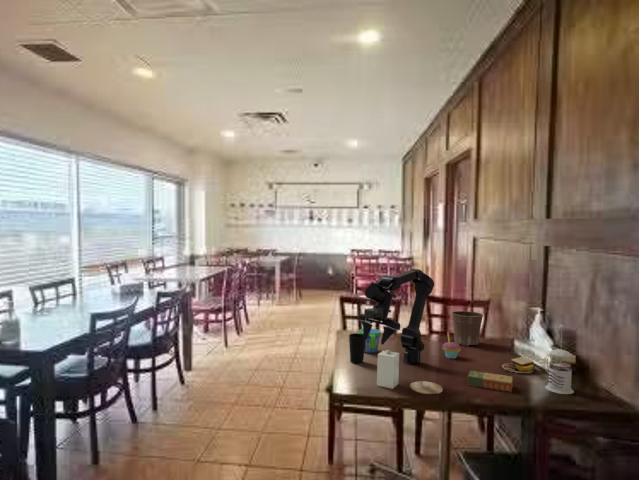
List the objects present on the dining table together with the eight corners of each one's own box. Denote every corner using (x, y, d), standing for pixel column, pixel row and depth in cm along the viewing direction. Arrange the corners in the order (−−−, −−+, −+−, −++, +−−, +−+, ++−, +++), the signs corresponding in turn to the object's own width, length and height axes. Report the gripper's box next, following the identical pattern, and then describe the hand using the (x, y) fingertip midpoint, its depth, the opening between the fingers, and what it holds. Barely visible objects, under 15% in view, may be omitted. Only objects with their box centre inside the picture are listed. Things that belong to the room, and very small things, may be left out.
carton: (511, 393, 168) (511, 382, 168) (466, 386, 175) (467, 375, 175) (512, 386, 175) (513, 376, 175) (469, 379, 182) (470, 369, 182)
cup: (364, 365, 197) (365, 338, 196) (347, 363, 198) (347, 336, 198) (366, 360, 204) (366, 334, 204) (349, 358, 206) (350, 332, 205)
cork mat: (429, 381, 178) (429, 380, 178) (449, 392, 167) (449, 390, 167) (403, 384, 173) (403, 383, 173) (422, 395, 162) (422, 394, 162)
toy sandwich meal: (496, 366, 201) (496, 356, 201) (523, 365, 203) (523, 355, 203) (513, 375, 189) (513, 364, 189) (541, 374, 191) (542, 363, 191)
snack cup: (357, 347, 227) (357, 326, 227) (378, 347, 227) (378, 327, 227) (360, 355, 212) (360, 334, 211) (382, 356, 212) (383, 334, 211)
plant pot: (445, 339, 248) (446, 310, 247) (473, 339, 249) (474, 310, 249) (458, 347, 231) (459, 316, 231) (488, 347, 233) (489, 316, 233)
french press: (561, 395, 166) (564, 328, 166) (535, 385, 177) (537, 321, 176) (580, 392, 170) (582, 326, 170) (553, 382, 181) (555, 320, 180)
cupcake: (440, 358, 211) (441, 332, 211) (443, 353, 219) (443, 329, 219) (459, 360, 208) (460, 334, 208) (461, 355, 216) (462, 331, 215)
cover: (382, 380, 177) (383, 347, 177) (398, 383, 174) (399, 349, 174) (376, 385, 171) (377, 351, 171) (392, 388, 168) (394, 353, 168)
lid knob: (427, 385, 172) (427, 381, 171) (431, 387, 169) (431, 383, 169) (421, 386, 171) (421, 381, 170) (425, 388, 168) (425, 384, 168)
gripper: (354, 296, 190) (344, 332, 186) (389, 303, 176) (378, 342, 172) (371, 304, 197) (361, 339, 193) (405, 310, 183) (395, 348, 179)
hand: (373, 341), depth 184 cm, fingers open, 9 cm apart
